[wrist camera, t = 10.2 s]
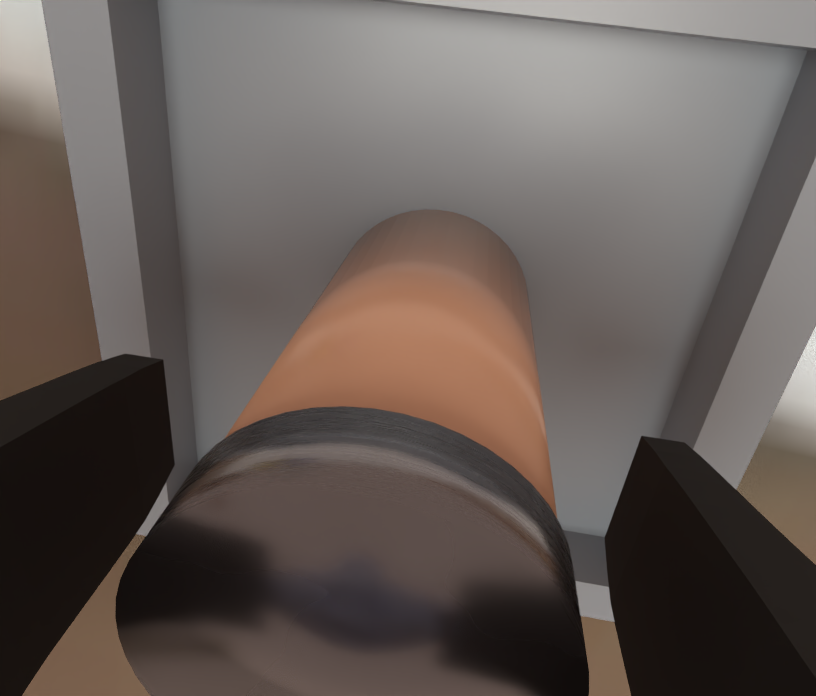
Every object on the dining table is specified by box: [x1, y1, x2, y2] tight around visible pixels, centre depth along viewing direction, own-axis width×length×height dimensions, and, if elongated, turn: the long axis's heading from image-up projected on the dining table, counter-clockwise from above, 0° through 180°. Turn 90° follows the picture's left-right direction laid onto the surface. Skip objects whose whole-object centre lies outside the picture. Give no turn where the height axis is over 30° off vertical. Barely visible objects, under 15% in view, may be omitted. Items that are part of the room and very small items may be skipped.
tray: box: [41, 0, 816, 622], centre depth 13 cm, size 14×14×2 cm
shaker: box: [116, 209, 589, 696], centre depth 10 cm, size 5×5×9 cm
